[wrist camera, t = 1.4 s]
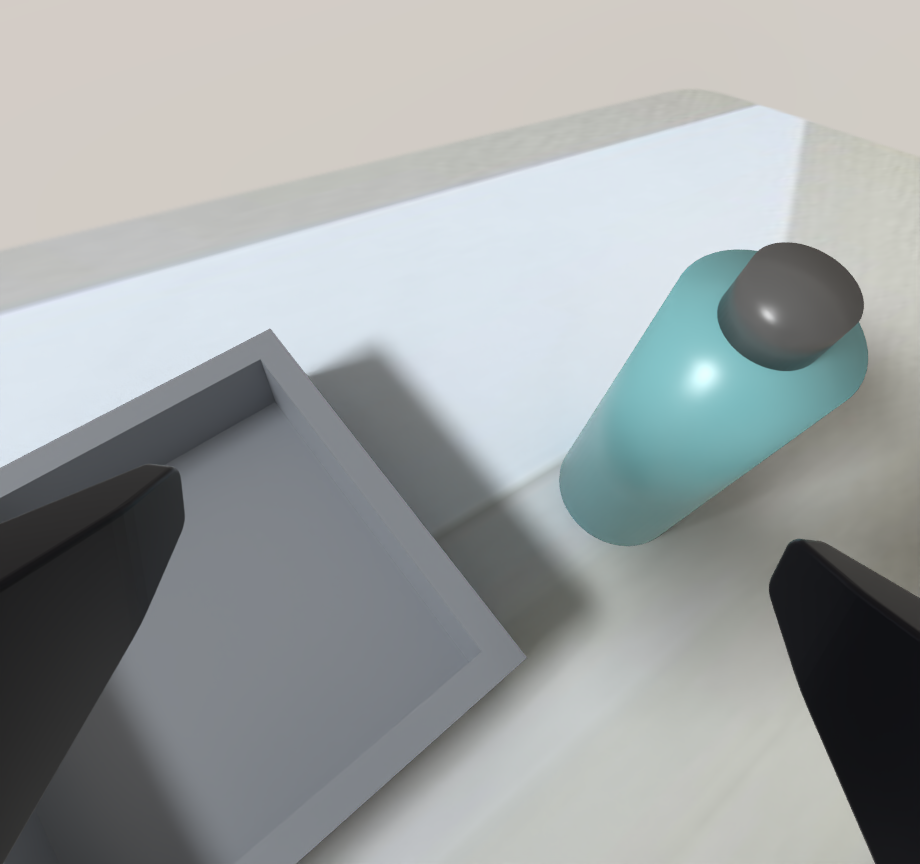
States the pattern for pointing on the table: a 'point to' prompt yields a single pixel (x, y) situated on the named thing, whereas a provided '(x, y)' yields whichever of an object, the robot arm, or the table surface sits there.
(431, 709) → the tray
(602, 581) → the table surface
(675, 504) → the capped bottle
